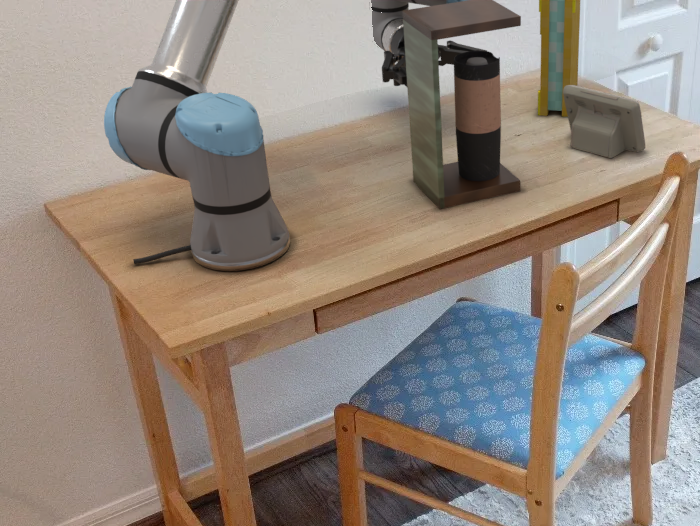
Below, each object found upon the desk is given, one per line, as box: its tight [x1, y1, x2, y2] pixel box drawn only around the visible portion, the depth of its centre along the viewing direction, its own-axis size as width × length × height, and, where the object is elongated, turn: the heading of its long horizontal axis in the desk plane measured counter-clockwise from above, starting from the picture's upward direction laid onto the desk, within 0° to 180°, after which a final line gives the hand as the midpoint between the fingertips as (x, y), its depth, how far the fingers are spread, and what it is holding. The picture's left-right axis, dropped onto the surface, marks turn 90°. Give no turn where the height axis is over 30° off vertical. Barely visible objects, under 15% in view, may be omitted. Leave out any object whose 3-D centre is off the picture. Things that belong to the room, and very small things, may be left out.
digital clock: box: [563, 85, 646, 159], centre depth 183 cm, size 16×9×11 cm, turn 39°
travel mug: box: [453, 50, 502, 181], centre depth 168 cm, size 8×8×20 cm
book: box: [537, 0, 581, 118], centre depth 198 cm, size 17×7×25 cm, turn 168°
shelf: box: [403, 0, 522, 210], centre depth 165 cm, size 15×12×30 cm
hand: (453, 79), depth 173 cm, fingers open, 13 cm apart
